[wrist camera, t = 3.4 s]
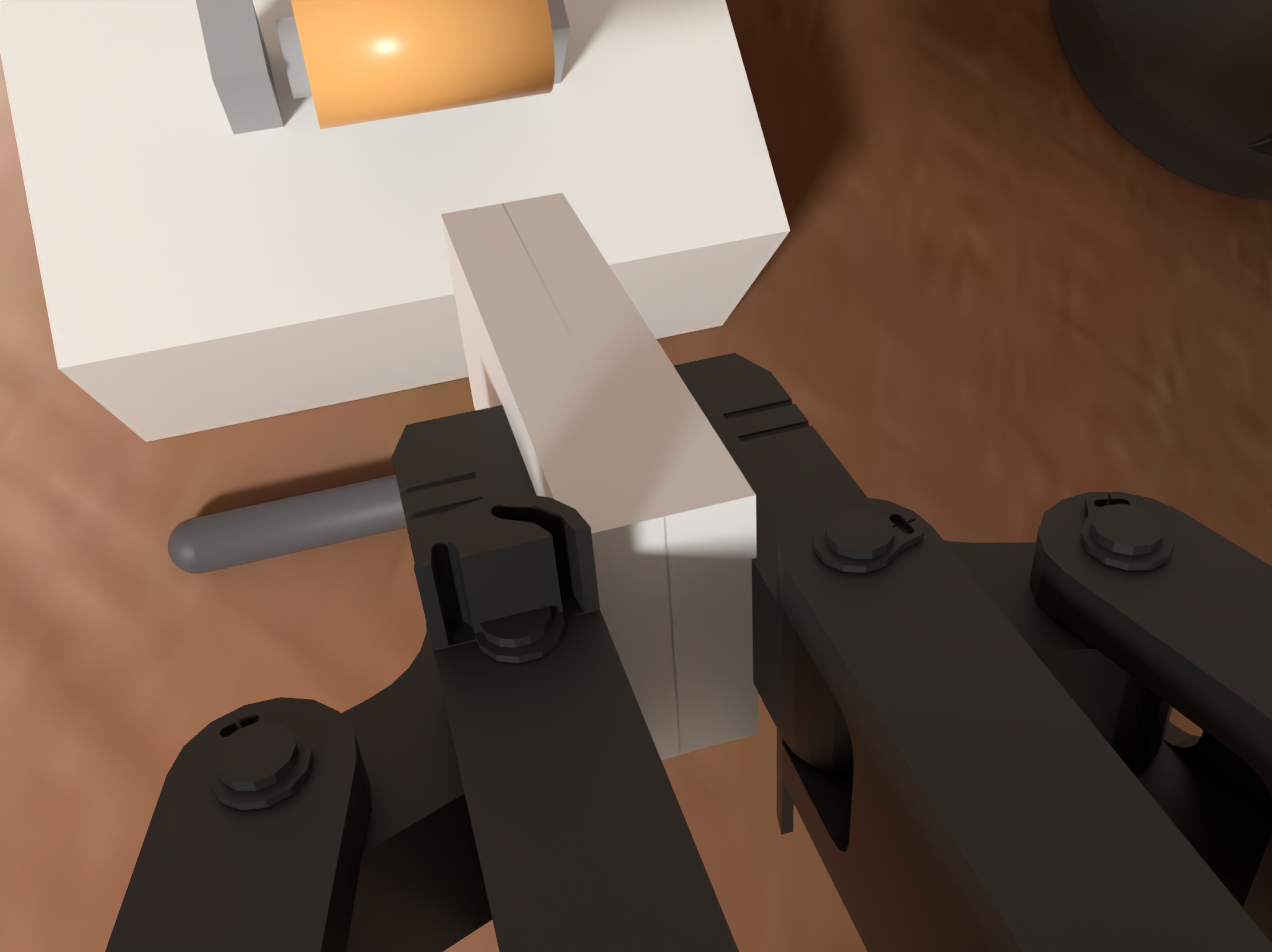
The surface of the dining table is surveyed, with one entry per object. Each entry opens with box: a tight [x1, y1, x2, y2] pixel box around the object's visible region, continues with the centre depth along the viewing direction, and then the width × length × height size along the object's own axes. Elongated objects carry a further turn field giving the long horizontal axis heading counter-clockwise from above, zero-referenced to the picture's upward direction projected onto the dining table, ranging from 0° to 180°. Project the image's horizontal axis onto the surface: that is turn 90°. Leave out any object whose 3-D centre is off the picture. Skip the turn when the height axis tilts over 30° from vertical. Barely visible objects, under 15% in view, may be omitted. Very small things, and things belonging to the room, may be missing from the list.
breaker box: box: [0, 0, 790, 574], centre depth 32 cm, size 18×16×11 cm
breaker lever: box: [275, 0, 555, 129], centre depth 24 cm, size 5×2×11 cm
